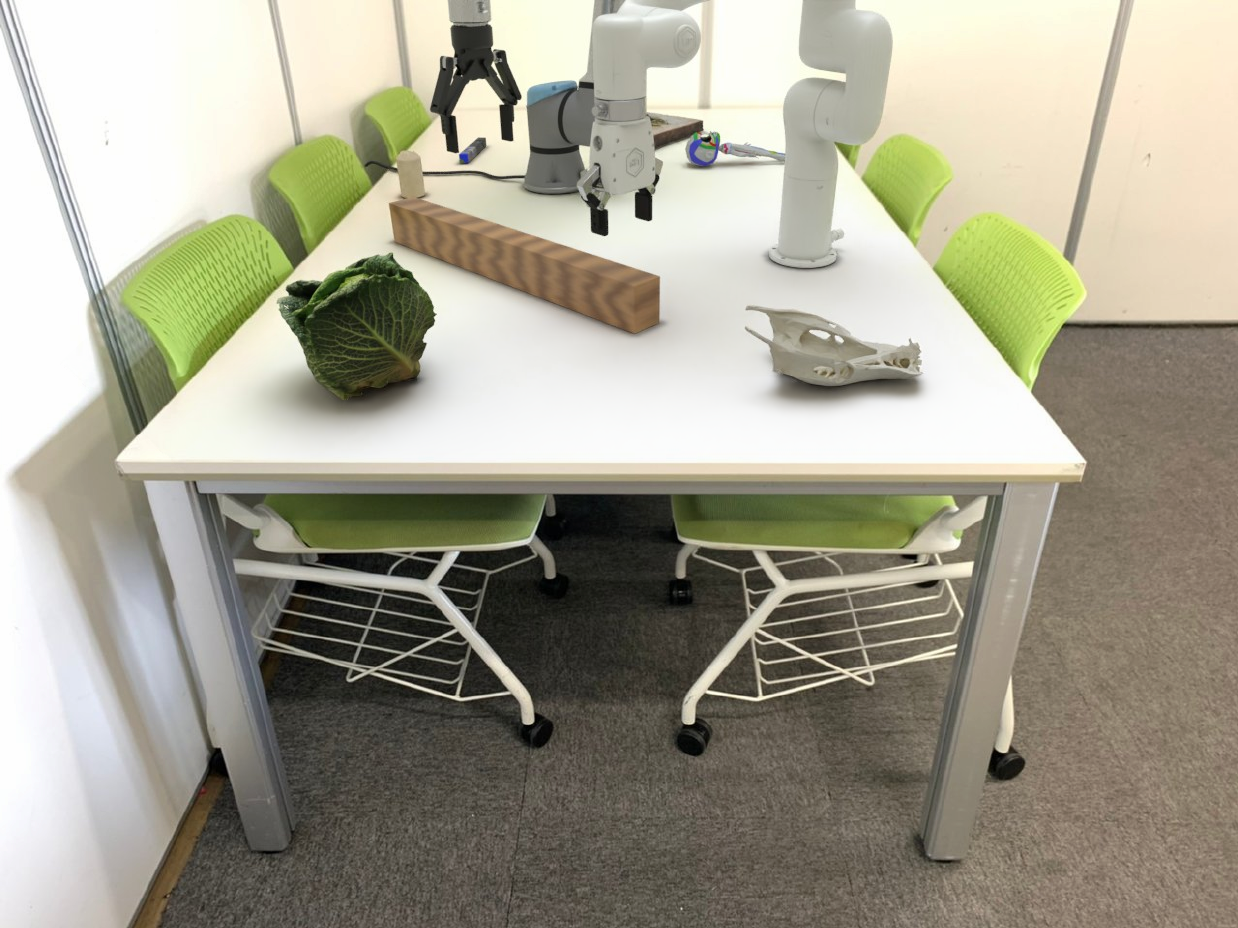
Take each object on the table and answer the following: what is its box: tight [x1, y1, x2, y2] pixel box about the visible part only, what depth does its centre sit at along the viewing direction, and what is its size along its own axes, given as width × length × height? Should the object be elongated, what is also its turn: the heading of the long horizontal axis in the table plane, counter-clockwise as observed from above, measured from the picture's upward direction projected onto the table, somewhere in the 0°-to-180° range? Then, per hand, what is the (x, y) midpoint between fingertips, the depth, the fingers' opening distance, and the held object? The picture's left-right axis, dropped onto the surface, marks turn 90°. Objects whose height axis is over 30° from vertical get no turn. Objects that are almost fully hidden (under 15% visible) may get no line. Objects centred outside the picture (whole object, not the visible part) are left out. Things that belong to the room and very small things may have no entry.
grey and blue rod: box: [458, 136, 487, 164], centre depth 242 cm, size 2×2×20 cm
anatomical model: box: [744, 304, 924, 387], centre depth 126 cm, size 15×9×25 cm
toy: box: [684, 130, 785, 167], centre depth 229 cm, size 10×8×30 cm
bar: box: [388, 197, 661, 335], centre depth 161 cm, size 67×6×8 cm, turn 46°
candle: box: [395, 149, 426, 199], centre depth 207 cm, size 6×6×10 cm
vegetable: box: [276, 251, 438, 401], centre depth 124 cm, size 20×19×20 cm
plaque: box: [646, 111, 705, 150], centre depth 257 cm, size 30×7×30 cm
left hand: (480, 146), depth 173 cm, fingers open, 13 cm apart
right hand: (622, 226), depth 138 cm, fingers open, 9 cm apart
